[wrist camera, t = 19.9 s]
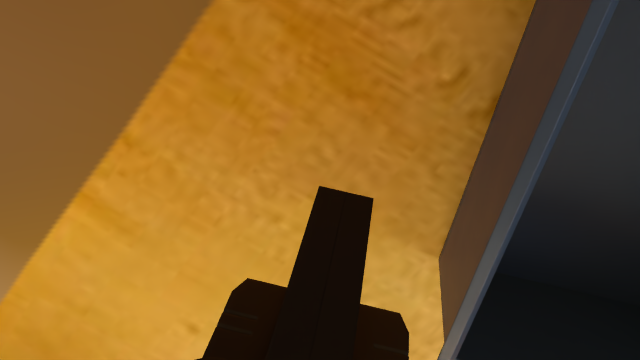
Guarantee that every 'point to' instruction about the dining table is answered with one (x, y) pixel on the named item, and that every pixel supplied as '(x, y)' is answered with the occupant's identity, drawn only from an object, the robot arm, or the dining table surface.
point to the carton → (557, 204)
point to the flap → (531, 167)
